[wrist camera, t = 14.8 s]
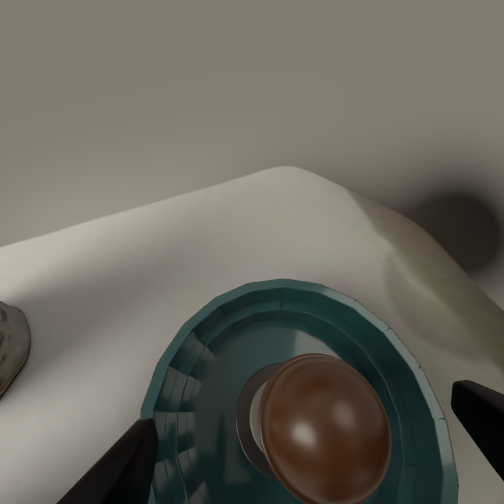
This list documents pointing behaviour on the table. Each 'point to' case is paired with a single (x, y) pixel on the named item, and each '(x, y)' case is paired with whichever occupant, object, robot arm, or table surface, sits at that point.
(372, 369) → the bowl
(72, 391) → the table surface
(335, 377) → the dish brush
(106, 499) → the robot arm
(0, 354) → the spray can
